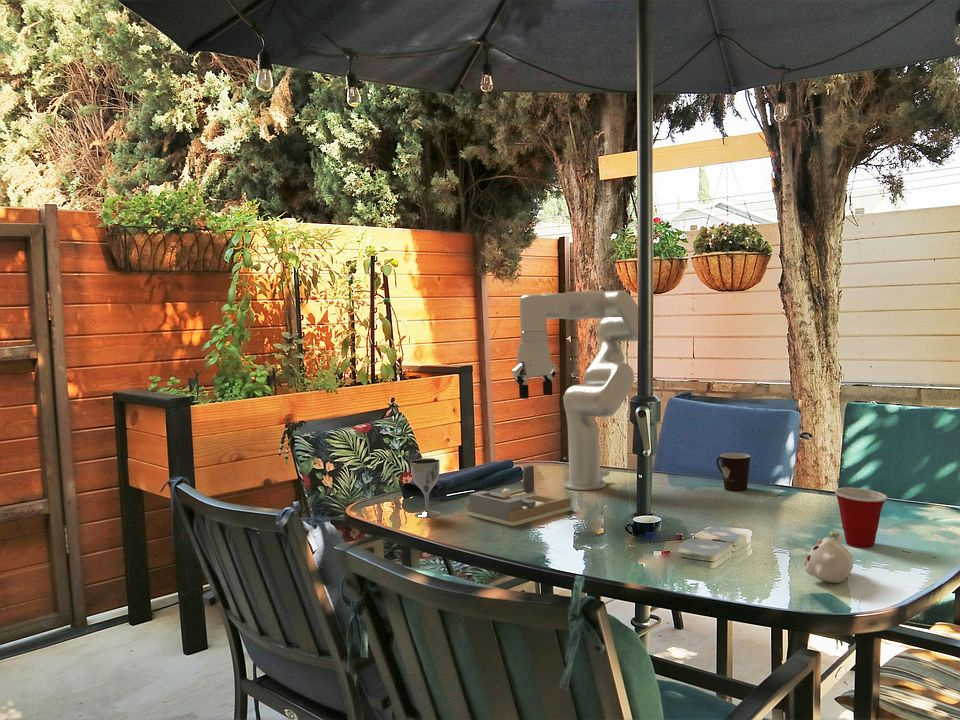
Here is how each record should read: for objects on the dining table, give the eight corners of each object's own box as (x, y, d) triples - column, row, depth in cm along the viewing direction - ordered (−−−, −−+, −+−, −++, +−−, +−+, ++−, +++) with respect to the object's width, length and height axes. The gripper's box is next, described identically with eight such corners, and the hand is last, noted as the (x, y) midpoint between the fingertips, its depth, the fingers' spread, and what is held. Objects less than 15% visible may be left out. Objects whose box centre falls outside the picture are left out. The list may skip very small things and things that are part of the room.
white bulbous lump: (830, 522, 171) (822, 532, 158) (866, 546, 168) (861, 558, 155) (804, 559, 173) (794, 572, 160) (840, 583, 170) (833, 599, 157)
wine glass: (443, 510, 232) (441, 457, 232) (439, 518, 225) (437, 463, 224) (415, 511, 233) (413, 458, 232) (410, 518, 225) (408, 463, 224)
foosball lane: (525, 500, 241) (524, 480, 241) (570, 510, 228) (570, 488, 227) (467, 514, 227) (466, 493, 226) (512, 526, 213) (511, 503, 213)
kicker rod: (512, 498, 238) (511, 461, 237) (558, 508, 224) (556, 469, 224) (481, 506, 230) (480, 467, 229) (527, 516, 217) (525, 476, 216)
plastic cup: (887, 553, 179) (886, 498, 179) (832, 548, 184) (832, 495, 184) (888, 540, 189) (888, 488, 188) (837, 535, 194) (836, 485, 193)
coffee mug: (754, 491, 241) (754, 457, 240) (725, 492, 241) (724, 458, 240) (742, 483, 252) (742, 450, 252) (714, 484, 253) (713, 451, 252)
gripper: (545, 335, 246) (547, 393, 247) (503, 339, 235) (505, 399, 236) (564, 336, 241) (566, 394, 242) (521, 339, 229) (523, 400, 230)
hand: (536, 396), depth 239 cm, fingers open, 9 cm apart
